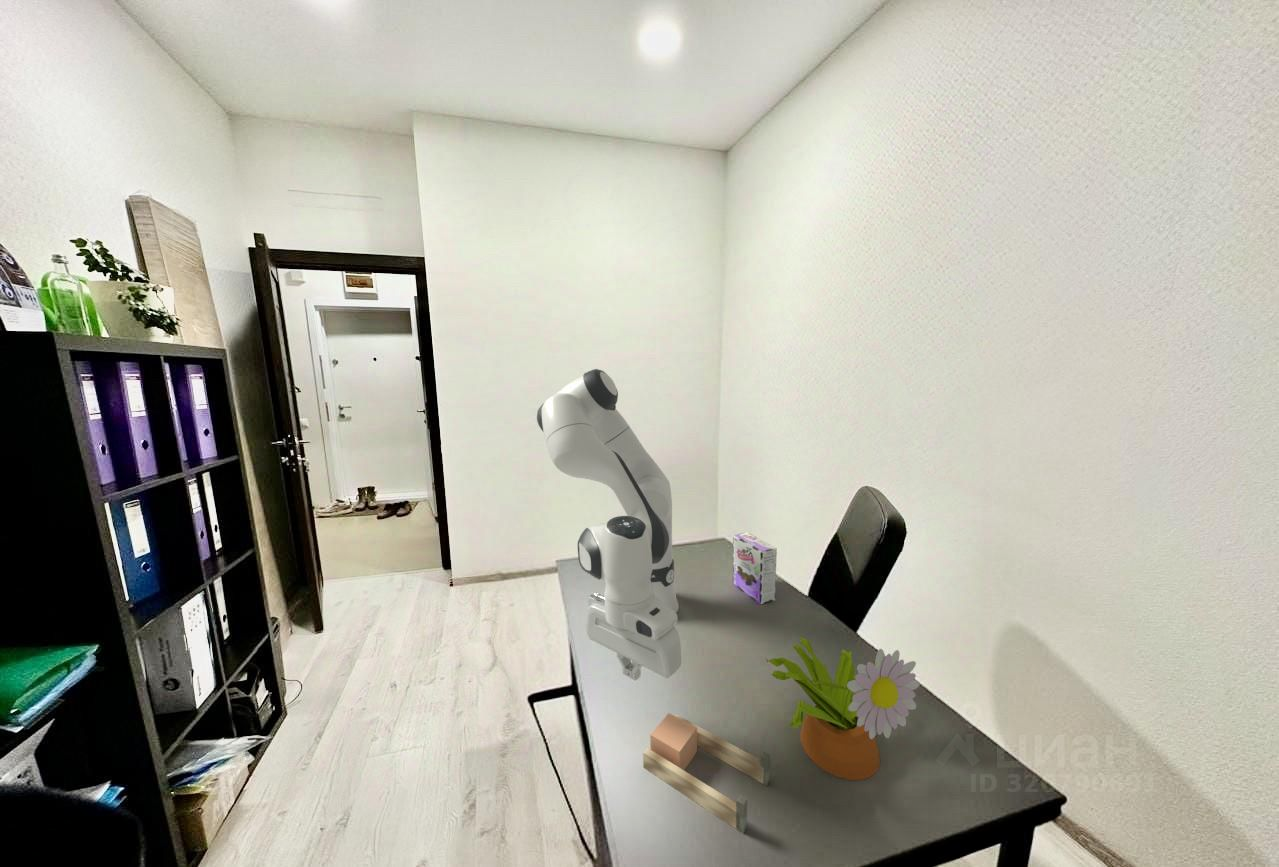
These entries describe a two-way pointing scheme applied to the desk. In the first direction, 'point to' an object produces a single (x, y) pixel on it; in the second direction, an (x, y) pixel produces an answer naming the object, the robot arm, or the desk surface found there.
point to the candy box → (754, 567)
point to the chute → (704, 793)
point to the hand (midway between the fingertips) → (631, 675)
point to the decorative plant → (850, 708)
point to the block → (675, 741)
